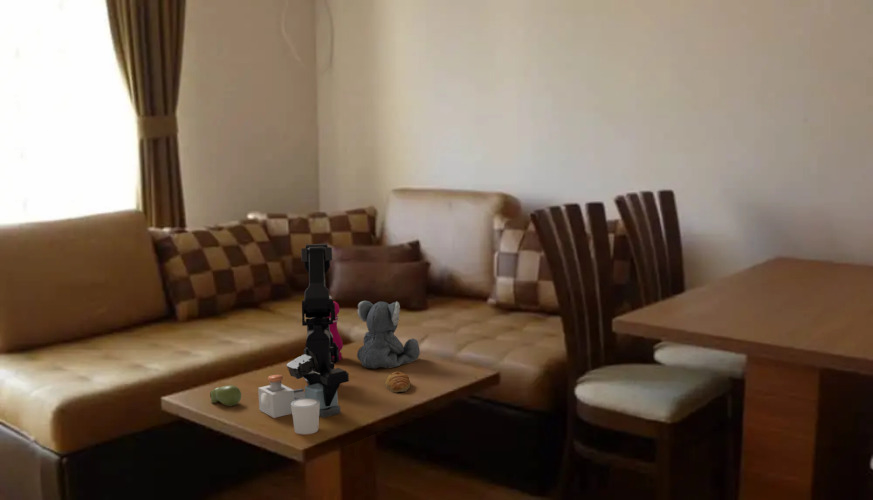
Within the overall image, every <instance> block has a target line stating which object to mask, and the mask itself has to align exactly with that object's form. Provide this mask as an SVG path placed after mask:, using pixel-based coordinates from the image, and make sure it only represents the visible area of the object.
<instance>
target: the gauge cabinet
mask: <svg viewBox="0 0 873 500" xmlns="http://www.w3.org/2000/svg"><path fill="white" fill-rule="evenodd" d="M281 387H282V390H281V391H276V392H271V391H270V384H268V385H265V386H259V387H257V389H258V390H257V391H258V392H257V394H258V408H259V411H260V412H262V413H264V414H266V415H268V416H270V417H271V418H273V419H276V418H279V417H283V416H287V415H292V408H291V403H292V402H293V401H295V400H294V390H295V389H293V388H291V387H289V386H286V385H284V384H283V383H281Z"/></svg>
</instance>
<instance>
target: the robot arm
mask: <svg viewBox="0 0 873 500" xmlns="http://www.w3.org/2000/svg"><path fill="white" fill-rule="evenodd" d="M300 249H301V250H300V251H301V252H300V254H301V255H300V256H301V262H303V263H304V269H305V270H306V272H307V273H308V287H307V288H306V289H305V291H304V299H302V300H301V323H302V324H301V325H302V327H303V326H304V327H306V339H305V347H304V349H303V354H301V356H298V357H296V358H294V359H292V360H291V361H289V362H288V363H286V368H287V370H288V372H289V375H290V377H294V378H295V379H297V380H300V379H302V378H303V379H304V380H305V381H306V384H307V386H308V385H313V384H317V383H318V384H319V385H320V386H322V388H323V394H324V400H325V405H326V406H330V405H331V402H332V400H333V398H334V396H335V393H336V391H337V392H338V388H339V387H340V386H341V384H344V383H348V382H349V381H350V374H349V372H348V371H347V370H344V369H343V368H340V367H336V368H335V364H337V363H339V361H340V360H339V351H338V346H337V345H336V342H333V335H332V333H331V332H330V324H333V320H335V303H334V302H333V301H334V300H333V298H332V299H329V296H330V289H328V288H327V286H326V275H327V273H328V272H329V270H330V267H331V261H333V247H331V246H330V247H329V246H328V243H315V244H314V243H313V244H310V243H309V244H305V248H300ZM330 313H331V320H329V318H327V317H329V316H330ZM332 356H334V357H332Z"/></svg>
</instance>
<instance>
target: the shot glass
mask: <svg viewBox="0 0 873 500" xmlns="http://www.w3.org/2000/svg"><path fill="white" fill-rule="evenodd" d="M291 408H292V414H291V415H292V421H293V427H294V428H293V429H294V432H295V433H296V434H298V435H312V434H315V433H317V432H318V431H319V424H320V421H319V420H320V415H319V408H320V402H319V400H317V399H312V398H304V399H298V400H295V401H293V402H292V403H291Z"/></svg>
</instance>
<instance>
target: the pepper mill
mask: <svg viewBox="0 0 873 500" xmlns="http://www.w3.org/2000/svg"><path fill="white" fill-rule="evenodd" d="M329 299H332V300H333V297H332V296H331V295H329ZM333 302H334V303H335V320H333V324H330V332H331V333H332V335H333V342H336V345H337V346H338V351H339V361H341V360H342V359H343V353H342V352H341V351H342V350H343V347H344V343H343V339H342V337H341V335H340V333H339V330H338V322H339V315H338V314H339V313H340V305H339V303H338V302H336V300H335V301H334V300H333ZM327 318H329V320H331V313H330V316H329V317H327ZM332 357H334V356H332Z"/></svg>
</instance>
